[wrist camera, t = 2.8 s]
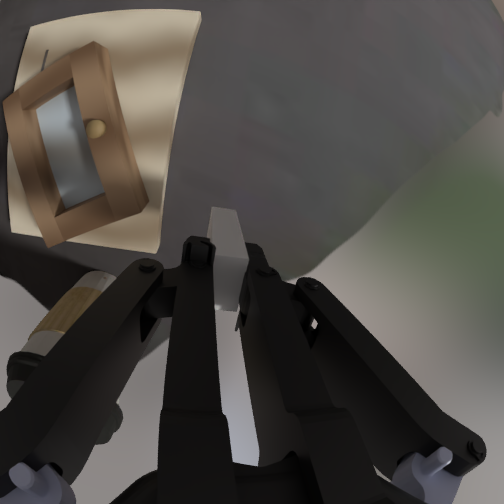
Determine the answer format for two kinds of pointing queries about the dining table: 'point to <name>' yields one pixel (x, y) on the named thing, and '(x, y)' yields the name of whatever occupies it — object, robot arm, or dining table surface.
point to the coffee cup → (53, 330)
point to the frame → (74, 147)
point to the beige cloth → (131, 101)
